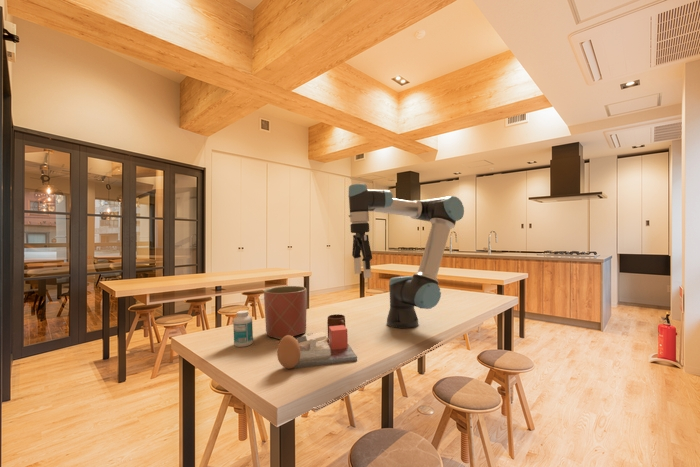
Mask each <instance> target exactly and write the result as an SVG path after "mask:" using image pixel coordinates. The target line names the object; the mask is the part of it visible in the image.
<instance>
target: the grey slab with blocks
mask: <svg viewBox="0 0 700 467" xmlns="http://www.w3.org/2000/svg"><path fill="white" fill-rule="evenodd" d="M313 334H314V333H307V336H309V335H313ZM350 361H351V362H357V361H358V355H357V354H356V352H354V350H353V349H352V347H351V346H350V345H349V344H348V348H343V349H334V350H332V349H331V347H330V345H329V342H327V341H325V340H324V341H318V342H316V339H310V344H306V345H302V346H300V359H299V361H298V363H297V365H296V366H294V367H293V368H292V369H301V368H308V367H309V368H310V367H317V366H326V365H327V366H328V365H333V364H341V363H342V362H343V363H348V362H350ZM343 363H342V364H343Z"/></svg>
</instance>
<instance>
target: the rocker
mask: <svg viewBox="0 0 700 467" xmlns="http://www.w3.org/2000/svg"><path fill="white" fill-rule="evenodd" d="M310 339H316V342H322V341H325V340H327V339H328V337H327V335H326V333H325V332H324V331H322V332H317V333H313V335H309V336H308V335H303V336H300V337H297V338H296V340H297V342H298V344H299V346H302V345H306V344H310Z"/></svg>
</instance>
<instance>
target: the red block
mask: <svg viewBox="0 0 700 467" xmlns="http://www.w3.org/2000/svg"><path fill="white" fill-rule="evenodd" d="M348 341H349V340H348V328H347V326H346V327H345V326H344V325H338V326H329V339H328V344H329V345H330V347H331V349H332V350H334V349H343V348H348V345H349V343H348Z"/></svg>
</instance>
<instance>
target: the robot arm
mask: <svg viewBox="0 0 700 467" xmlns="http://www.w3.org/2000/svg"><path fill="white" fill-rule="evenodd" d="M348 204H349V206H348V208H349V215H348V218H349V221H350V223H351V224H350V225H349V227H350V233H351V234H353V235H352V240H353V241H352V253H351V256H352V257H353V267H354V275H356V274H362V268H363V278H364V279H370V278H372V268H371V260H373V254H372V250H371V245H370V240H369V234H366V233H369V232H370V223H369V222H370V214H369V212H375V213H383V214H390V215H396V216H397V215H398V216H403V217H405V216H406V217H410V218H411V219H413V220H419V221H425V222H429V223H430V224H431V227H430V229H429V230H430V231H429V234H428V237H427V239H426V240H427V241H426V244H425V248H424V251H423V253H422V258H421V260H420V264H419V267H418V270H417V272H415V273H413V275H405V276H395V277H391V278H390V279H389V285H388V288H389V289H388V290H389V310H388V314H387V317H386V325H387V326H389V327H391V328H396V329H410V328H411V329H412V328H414V327H415V328H416V327H418V325H419V318H418V316H417V311H416V309H415V307H416V308H419V309H424V310H429V309H433V308H435V307H436V306H437V305H438V303H439V302H440V300H441V296H442V295H441V294H442V292H441V287H440V286H439V283H440V282H439V280H438V279H437V277H438V273H439V270H440V267H441V263H442V260H443V256H444V252H445V250H446V246H447V242H448V239H449V234H450V231H451V230H452V229H454V228H455V226H456V223H457V222H458V221H460V220H461V219H463V218H464V214H465V207H464V204H463V202H462V201H461V199H460V198H459V197H457V196H454V195H450V196H448V195H447V196H443V197H435V198H429V199H423V200H420V199H414V200H406V199H399V198H394V195H393V192H392V191H391V190H390V189H384V188H383V189H369V188H368V185H367V184H366V183H353V184H351V185H349V186H348ZM361 254H362V255H361ZM361 261H362V262H361Z"/></svg>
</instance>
